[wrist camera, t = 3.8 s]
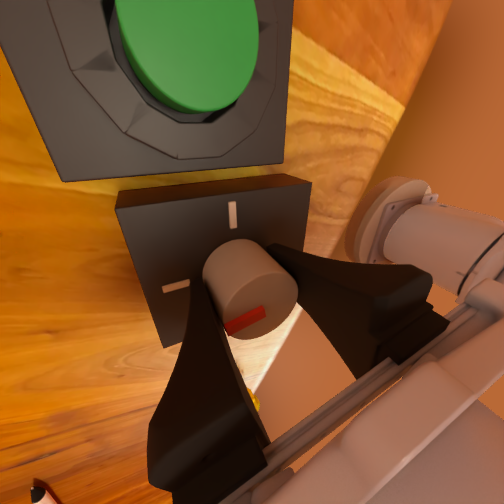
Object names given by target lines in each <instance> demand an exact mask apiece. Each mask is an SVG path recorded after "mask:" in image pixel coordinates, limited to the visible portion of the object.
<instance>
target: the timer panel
mask: <svg viewBox="0 0 504 504" xmlns="http://www.w3.org/2000/svg"><path fill="white" fill-rule="evenodd" d="M311 187H312V182H309V181H306V180H302V179H299V178H296V177H293V176H290V175H287V174H275V175H266V176H257V177H247V178H238V179H229V180H220V181H210V182H201V183H192V184H183V185H173V186H164V187H155V188H145V189H136V190H127V191H119V192H118V197H117V201H116V205H115V212H116V215H117V218H118V221H119V224H120V227H121V230H122V232H123V235H124V238H125V241H126V244H127V247H128V249H129V252H130V255H131V258H132V261H133V264H134V266H135V269H136V272H137V275H138V278H139V281H140V283H141V286H142V289H143V292H144V295H145V298H146V301H147V303H148V306H149V309H150V312H151V315H152V318H153V320H154V323H155V326H156V329H157V332H158V335H159V337H160V340H161V343H162V346H163V348H167V347H169V346H172V345H175V344H177V343H180V342H183V338H184V334H185V330H186V324H187V318H188V312H189V301H190V287H189V284H190V282H191V281H193V280H195V279H198V278H200V277H201V278H202V280H203V277H202V276H203V268H204V265H205V263H206V261H207V259H208V257H209V256H210V255H211V254H212V252H213V251H214V250H215V249H217V248H218V247H219V246H221V245H223V244H224V243H226V242H229V241H232V240H236V239H247V240H251V241H254V242H255V243H257V244H258V245H260V246H261V247H262V248H263V249H264V250H265V251H266V252H267V249H266V247H267V246H269V245H271V244H273V243H278V244H281V245H284V246H287V247H290V248H293V249H296V250H299V251H302V252H303V247H304V239H305V232H306V224H307V217H308V209H309V202H310V195H311Z"/></svg>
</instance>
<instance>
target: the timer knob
mask: <svg viewBox="0 0 504 504" xmlns="http://www.w3.org/2000/svg"><path fill="white" fill-rule="evenodd" d="M202 277H203V282H204V284H205V286H206V288H207V291H208V293H209V295H210V297H211V300H212V303H213V305H214V307H215V310H216V312H217V314H218V316H219V319H220V321H221V323H222V325H223V327H224V329H225V331H226V332H227V335H228V336H232V337H234V338H237V339H242V340H248V339H254V338H258V337H260V336H263V335H265V334H267V333H269V332H271V331H272V330H274V329H275V328H277V327H278V326H279V325H280V324H281V323H282V322H283V321H284V320H285V319H286V318H287V317H288V316H289V314H290V313H291V311H292V310H293V308H294V306H295V304H296V301H297V298H298V286H297V283H296V281H295V279H294V278H293V277H292V276H291V275H290V274H289V273H288V272H287V271H286V270H285V269H284V268H283V267H282V266H281V265H280V264H279V263H277V262H276V261H275V260H274V259H273V258H272V257H271V256H270V255H269V254H268V253H267V252H266V251H265V250H264V249H263V248H262V247H261V246H260V245H258V244H257V243H255V242H254V241H251V240H247V239H236V240H232V241H229V242H226V243H224V244H223V245H221V246H219V247H218V248H217V249H215V250H214V251H213V252H212V254H211V255H210V256H209V257H208V259H207V261H206V263H205V265H204V268H203V276H202Z"/></svg>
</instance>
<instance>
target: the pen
mask: <svg viewBox="0 0 504 504" xmlns="http://www.w3.org/2000/svg"><path fill="white" fill-rule="evenodd" d="M31 500H32V503H33V504H57V503H56V501H55V500H54V499H53V498H52V496H51V495H50V494H49V493H48V492H47V490H46V489H45V488H41V487H35V486H33V487H31Z"/></svg>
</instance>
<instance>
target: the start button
mask: <svg viewBox="0 0 504 504" xmlns="http://www.w3.org/2000/svg"><path fill="white" fill-rule="evenodd" d="M115 6H116V13H117V19H118V26H119V32H120V37H121V41H122V44H123V48H124V51H125V53H126V56H127V59H128V61H129V63H130V65H131V67H132V69H133V71H134V72H135V74H136V75H137V77H138V79H139V80H140V81H141V83H142V84H143V85H144V87H145V88H146V89H147V90H148V91H149V92H150V93H151V94H152V95H153V96H154V97H155V98H156V99H158V100H159V101H160V102H162V103H163V104H164V105H166V106H168V107H170V108H171V109H173V110H176V111H179V112H182V113H186V114H201V113H207V112H212V111H217V110H220V109H223V108H225V107H227V106H229V105H230V104H232V103H233V102H234V101H235V100H237V99H238V98H239V97H240V95H241V94H242V93H243V92H244V90H245V89H246V87H247V86H248V84H249V82H250V80H251V77H252V75H253V72H254V69H255V65H256V60H257V54H258V45H259V27H258V18H257V11H256V6H255V2H254V0H115Z"/></svg>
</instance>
